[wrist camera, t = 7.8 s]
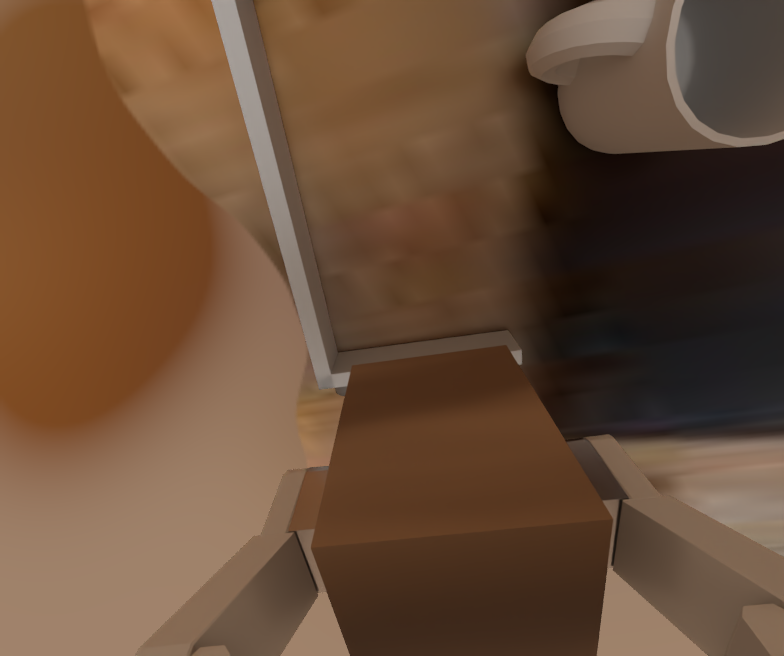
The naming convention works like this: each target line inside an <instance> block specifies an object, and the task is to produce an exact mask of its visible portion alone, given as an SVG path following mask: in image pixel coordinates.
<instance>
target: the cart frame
mask: <svg viewBox="0 0 784 656" xmlns="http://www.w3.org/2000/svg"><path fill="white" fill-rule="evenodd" d="M211 1H212V4H213V8H214V11H215V15H216V19H217V22H218V26H219V29H220V33H221V37H222V40H223V44H224V47H225V51H226V55H227V58H228V62H229V66H230V69H231V73H232V76H233V80H234V84H235V87H236V91H237V94H238V98H239V102H240V105H241V109H242V112H243V116H244V120H245V123H246V127H247V130H248V134H249V138H250V141H251V145H252V149H253V152H254V156H255V159H256V163H257V167H258V170H259V174H260V177H261V181H262V185H263V188H264V192H265V195H266V199H267V203H268V206H269V210H270V213H271V217H272V221H273V224H274V228H275V231H276V235H277V239H278V242H279V246H280V250H281V253H282V257H283V260H284V264H285V268H286V271H287V275H288V278H289V282H290V286H291V289H292V293H293V296H294V300H295V304H296V307H297V311H298V314H299V318H300V322H301V325H302V329H303V333H304V336H305V340H306V343H307V347H308V351H309V354H310V358H311V361H312V365H313V369H314V372H315V376H316V379H317V383H318V387H319V390H320V389H328V388H335V389H336V393H337V394H339V395H341V396H345V394H346V389H347V385H348V381H349V376H350V372H351V367H352V365H359V364H366V363H374V362H381V361H389V360H396V359H404V358H411V357H419V356H427V355H434V354H442V353H449V352H457V351H464V350H472V349H479V348H487V347H494V346H502V345H507V347H508V349H509V350H510V352H511V353H512V355H513V357H514V358H515V360H516V362H517V363H518V365H519V364H522V350H521V348H520V347H519V345H518V344H517V342H516V341H515V339H514V338H513V336H512V335H511V334H510V332H509V331H508V330H504V331H497V332H489V333H482V334H474V335H466V336H459V337H451V338H444V339H436V340H429V341H421V342H414V343H406V344H399V345H391V346H383V347H376V348H368V349H361V350H353V351H346V352H338V351H337V347H336V343H335V339H334V334H333V330H332V326H331V322H330V318H329V314H328V309H327V305H326V301H325V297H324V293H323V289H322V285H321V280H320V276H319V272H318V268H317V264H316V260H315V256H314V251H313V247H312V243H311V239H310V235H309V231H308V227H307V222H306V218H305V214H304V210H303V206H302V202H301V197H300V193H299V189H298V185H297V181H296V177H295V173H294V168H293V164H292V160H291V156H290V152H289V148H288V144H287V139H286V135H285V131H284V127H283V123H282V119H281V115H280V110H279V106H278V102H277V98H276V94H275V90H274V85H273V81H272V77H271V73H270V69H269V65H268V61H267V56H266V52H265V48H264V44H263V40H262V36H261V32H260V27H259V23H258V19H257V15H256V11H255V7H254V3H253V0H211Z"/></svg>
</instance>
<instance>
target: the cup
mask: <svg viewBox="0 0 784 656" xmlns="http://www.w3.org/2000/svg"><path fill="white" fill-rule="evenodd" d="M526 60H527V65H528V71H529V72H530V74H531V76H533V77H536V78H538V79H540V80H542V81H544V82H547V83H550V84H556V85H558V101H559V108H560V114H561V116H562V118H563V121H564V123H565V125H566V128H567V130H568V131H569V132H570V133H571V134H572V135H573V137H574V138H575V139H576V140H577V141H578V142H579V143H581V144H582V145H584V146H586V147H587V148H589V149H591V150H594V151H599V152H603V153H608V154H623V153H641V152H659V151H677V150H694V149H712V148H730V147H745V146H756V145H767V144H770V143H773V142H776V141H779V140H782V139H784V0H596V1H592V2H590V3H587V4H585V5H582V6H580V7H577V8H575V9H572V10H570V11H567V12H565V13H562V14H560V15H558V16H557V17H555V18H553V19H552V20H550V21H548V22H547V23H546V24H545V25H544V26H542V27H541V28H540V29H539V30H538V31H537V33H536V35H535V37H534V39H533V41H532V43H531V44H530V46H529V48H528V51H527V53H526Z"/></svg>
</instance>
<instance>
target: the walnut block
mask: <svg viewBox="0 0 784 656" xmlns="http://www.w3.org/2000/svg"><path fill="white" fill-rule="evenodd" d="M612 526H613V518H612V516H611V514H610V513H609V511H608V509H607V508H606V506H605V505H604V503H603V501H602V500H601V498H600V496H599V495H598V493H597V492H596V490H595V488H594V487H593V485H592V483H591V482H590V480H589V479H588V477H587V475H586V474H585V472H584V470H583V469H582V467H581V466H580V464H579V462H578V461H577V459H576V457H575V456H574V454H573V453H572V451H571V449H570V448H569V446H568V444H567V443H566V441H565V440H564V438H563V436H562V435H561V433H560V431H559V430H558V428H557V427H556V425H555V423H554V422H553V420H552V418H551V417H550V415H549V414H548V412H547V410H546V409H545V407H544V405H543V404H542V402H541V401H540V399H539V397H538V396H537V394H536V392H535V391H534V389H533V388H532V386H531V384H530V383H529V381H528V379H527V378H526V376H525V375H524V373H523V371H522V370H521V368H520V366H519V365H518V363H517V362H516V360H515V358H514V357H513V355H512V353H511V352H510V350H509V349H508V347H507V345H502V346H494V347H487V348H479V349H472V350H464V351H457V352H449V353H442V354H434V355H427V356H419V357H411V358H404V359H396V360H389V361H381V362H374V363H366V364H359V365H352V367H351V372H350V376H349V381H348V385H347V389H346V394H345V398H344V403H343V407H342V412H341V416H340V420H339V425H338V429H337V434H336V438H335V442H334V447H333V451H332V456H331V460H330V464H329V469H328V473H327V478H326V482H325V486H324V491H323V495H322V500H321V504H320V508H319V513H318V517H317V522H316V526H315V530H314V535H313V539H312V544H311V550H312V553H313V556H314V559H315V561H316V564H317V567H318V569H319V572H320V575H321V578H322V580H323V583H324V586H325V588H326V591H327V594H328V597H329V599H330V602H331V604H332V607H333V610H334V613H335V616H336V618H337V621H338V624H339V626H340V629H341V632H342V634H343V637H344V640H345V643H346V645H347V648H348V651H349V654H350V656H597V648H598V640H599V631H600V623H601V614H602V607H603V598H604V591H605V583H606V575H607V566H608V558H609V550H610V542H611V534H612Z"/></svg>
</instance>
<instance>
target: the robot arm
mask: <svg viewBox="0 0 784 656" xmlns="http://www.w3.org/2000/svg"><path fill="white" fill-rule="evenodd" d="M565 441H566V443H567V444H568V446H569V448H570V449H571V451H572V453H573V454H574V456H575V457H576V459H577V461H578V462H579V464H580V466H581V467H582V469H583V470H584V472H585V474H586V475H587V477H588V479H589V480H590V482H591V483H592V485H593V487H594V488H595V490H596V492H597V493H598V495H599V496H600V498H601V500H602V501H603V503H604V505H605V506H606V508H607V509H608V511H609V513H610V514H611V516H612V518H613V526H612V534H611V542H610V550H609V558H608V566H607V568H613V571H615V572H616V573H617V574H618V575H619V576H620V577H621V578H622V579H623V580H625V581H626V582H627V583H628V584H629V585H630V586H631V587H632V588H633V589H634V590H636V591H637V592H638V593H639V594H640V595H641V596H642V597H644V598H645V599H646V600H647V601H648V602H649V603H650V604H651V605H652V606H654V607H655V608H656V609H657V610H658V611H659V612H660V613H661V614H663V616H665V617H666V618H667V619H668V620H669V621H670V622H671V623H673V625H675V626H676V627H677V628H678V629H679V630H680V631H681V632H682V633H684V634H685V635H686V636H687V637H688V638H689V639H690V640H691V641H693V643H695V644H696V645H697V646H698V647H699V648H700V649H701V650H702V651H704V652H705V653H706V654H707V655H708V656H784V557H783V556H781V555H779V554H777V553H775V552H773V551H771V550H770V549H768V548H766V547H764V546H762V545H760V544H758V543H757V542H755V541H753V540H751V539H749V538H747V537H746V536H744V535H742V534H740V533H738V532H736V531H734V530H733V529H731V528H729V527H727V526H725V525H723V524H721V523H720V522H718V521H716V520H714V519H712V518H710V517H708V516H707V515H705V514H703V513H701V512H699V511H697V510H696V509H694V508H692V507H690V506H688V505H686V504H684V503H683V502H681V501H679V500H677V499H675V498H673V497H671V496H661V495H660V494H659V493H658V491H657V490H656V489H655V488H654V487H653V485H652V484H651V483H650V482H649V480H648V479H647V478H646V477H645V475H644V474H643V473H642V472H641V471H640V469H639V468H638V467H637V466H636V464H635V463H634V462H633V461H632V460H631V458H630V457H629V456H628V455H627V453H626V452H625V451H624V450H623V449H622V447H621V446H620V445H619V444H618V442H617V441H616V440H615V439H614V438H613V437H612V436H610V435H608V434H607V435H599V436H591V437H584V438H577V439H568V440H565ZM328 469H329V466H323V467H311V468H306V469H293V470H287V471H286V473H285V474H284V475H283V477H282V479H281V482H280V485H279V487H278V490H277V493H276V495H275V498H274V501H273V503H272V506H271V509H270V511H269V514H268V517H267V520H266V522H265V525H264V527H263V530H262V533H261V535H260V536H254V537H252V538H251V539H250V540H249V541H248V542H247V543H246V544H245V545H244V546H243V547H242V548H241V549H240V550H239V551H238V552H237V553H236V554H235V555H234V556H233V557H232V558H231V559H230V560H229V561H228V562H227V563H226V564H225V565H224V566H223V567H222V568H221V569H220V570H219V571H218V572H217V573H216V574H215V575H213V577H211V578H210V579H209V580H208V581H207V582H206V583H205V584H204V585H203V586H202V587H201V588H200V589H199V590H198V591H197V592H196V593H195V594H194V595H193V596H192V597H191V598H190V599H189V600H188V601H187V602H186V603H185V604H184V605H183V606H182V607H181V608H180V609H179V610H178V611H177V612H176V613H175V614H174V615H173V616H172V617H171V618H170V619H169V620H167V622H165V624H164V625H162V626H161V627H160V628H159V629H158V630H157V631H156V632H155V633H154V634H153V635H152V636H151V637H150V638H149V639H148V640H147V641H146V642H145V643H144V644H143V645H142V646H141V647H140V648H139V649H138V651H137V653H136V655H135V656H280V655H281V654H282V652H283V651H284V649H285V647H286V645H287V644H288V643H289V641H290V639H291V638H292V636H293V635H294V633H295V632H296V630H297V628H298V627H299V625H300V623H301V622H302V620H303V619H304V617H305V616H306V614H307V612H308V611H309V609H310V608H311V606H312V604H313V603H314V601H315V600H316V598H317V597H318V594H317V593H319V592H327V591H326V588H325V586H324V583H323V580H322V578H321V575H320V572H319V569H318V567H317V564H316V561H315V559H314V556H313V553H312V550H311V544H312V539H313V535H314V530H315V526H316V522H317V517H318V513H319V508H320V504H321V500H322V495H323V491H324V486H325V482H326V478H327V473H328Z"/></svg>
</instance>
